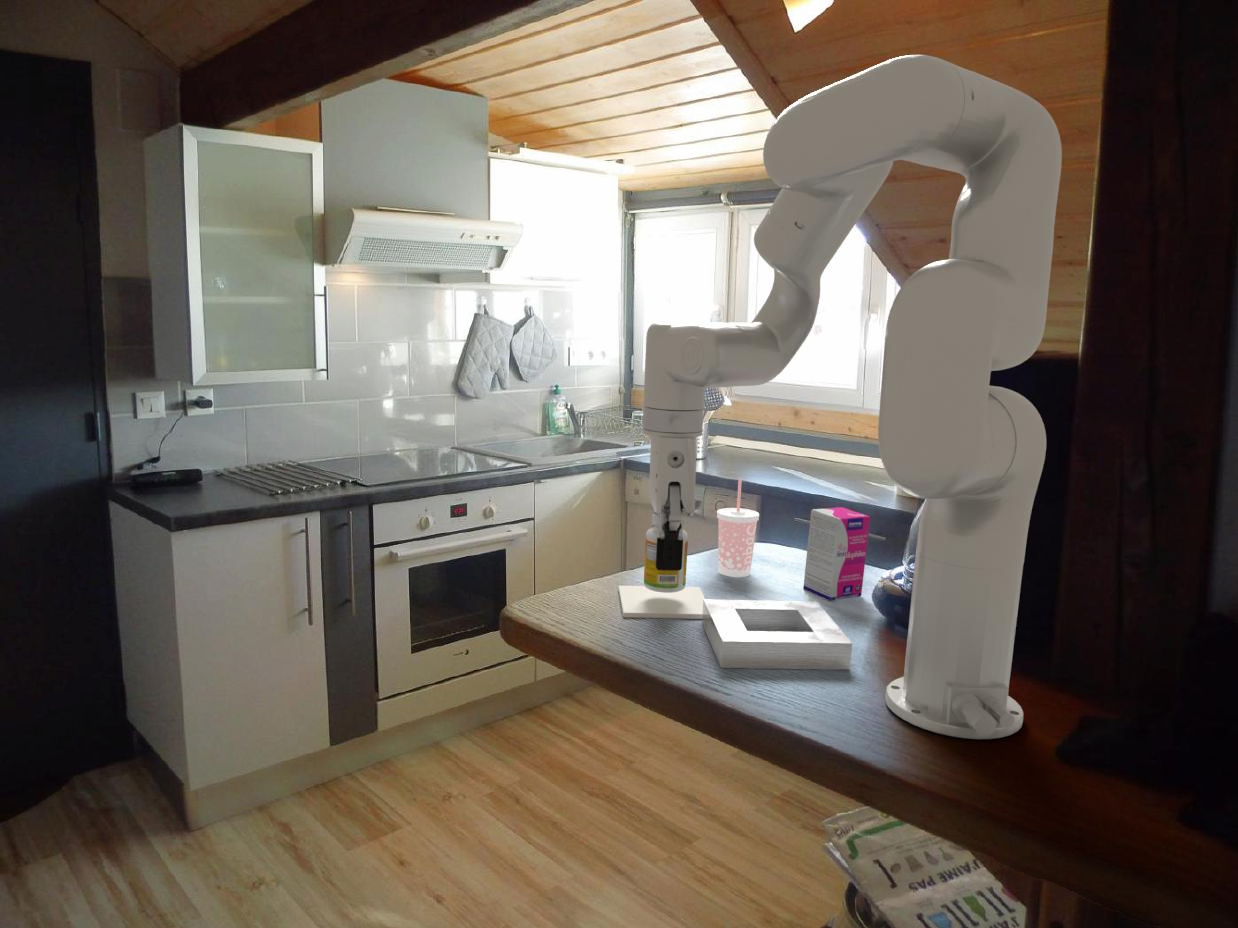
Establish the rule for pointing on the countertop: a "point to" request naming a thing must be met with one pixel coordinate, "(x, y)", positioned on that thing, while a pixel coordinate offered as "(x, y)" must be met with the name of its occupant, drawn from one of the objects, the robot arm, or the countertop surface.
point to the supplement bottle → (652, 576)
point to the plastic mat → (661, 603)
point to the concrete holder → (775, 635)
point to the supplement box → (836, 553)
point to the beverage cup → (736, 538)
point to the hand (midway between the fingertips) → (665, 561)
